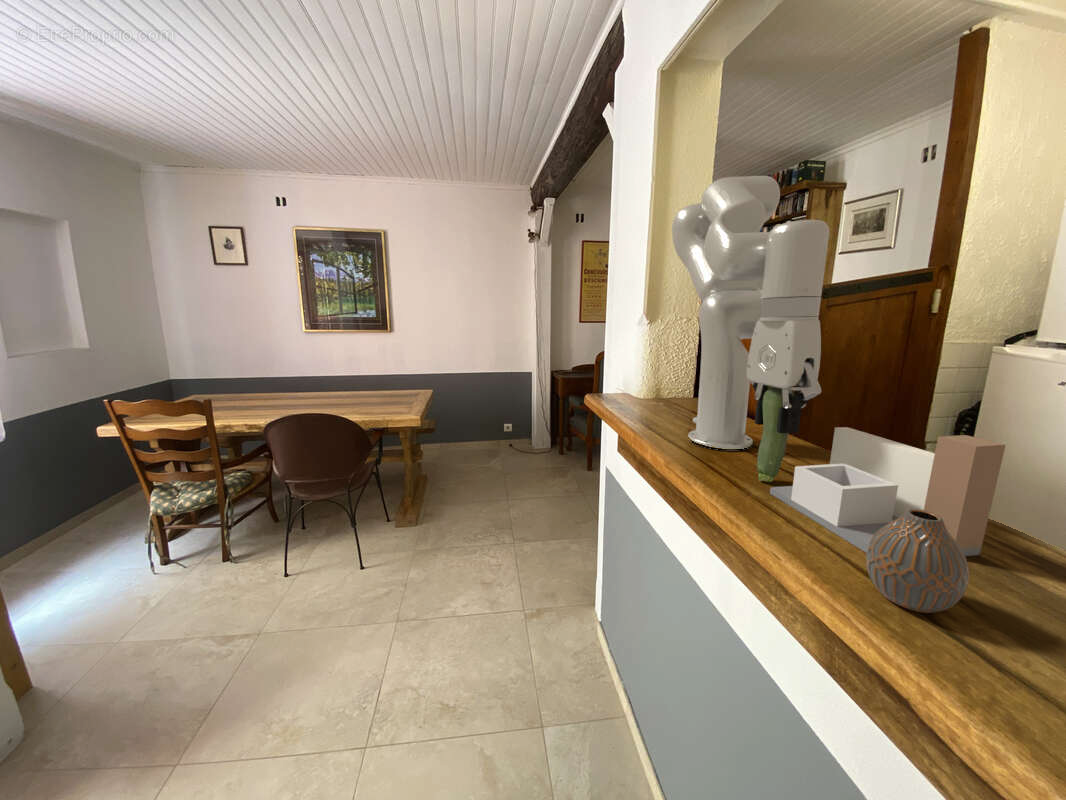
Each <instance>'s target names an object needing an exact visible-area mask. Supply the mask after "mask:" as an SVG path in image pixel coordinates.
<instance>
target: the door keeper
mask: <svg viewBox="0 0 1066 800" xmlns="http://www.w3.org/2000/svg"><path fill="white" fill-rule="evenodd" d="M1006 446H1007V445H1006V444H1004V443H1001V442H1000V443H999V442H996V441H991V440H988V439H983V438H980V437H975V436H971V435H966V434H961V435H945V436H937V441H936V445H935V450H934V452H931V451H928V450H925V449H921V448H919V447H918V448H917V447H914V446H912V445H908V444H905V443H901V442H897V441H894V440H891V439H889V438H888V439H887V438H884V437H881V436H878V435H874V434H870V433H868V432H865V431H860V430H858V429H855V428H852V427H847V426H845V427H843V426H841V427H834V432H833V439H832V448H831V454H830V461H829V464H828V463H827V464H814V465H798V466H795V467H794V472H793V473H794V474H793V483H792V485H786V486H771V487H770V488H769V489H770V490H769V494H770V495H771V496H773V497H775V498H776V499H778V500H780V501H781V502H783V503H784V504H787V505H788V506H789V507H791V508H793V509H794V510H796V511H798V512H799V513H801V514H802V515H804V516H806V517H808V518H809V519H811V520H812V521H813V522H816V523H817V524H819V525H821V526H822V527H824V528H826V529H827V530H828V531H831V532H832V533H834V534H835V535H837V536H838V537H840V538H842V539H843V540H845V541H846V542H849V544H851V545H853V546H854V547H856V548H858V549H859V550H861V551H862V552H865V554H867V549H868V545H869V543H870V541H871V539H872V537H873V536H874V534H875V533H876V532H877V531H878V530H879V529H880V528H882V527H883V526H885V525H887V524H888V523H890V522H892V521H894V520H896V519H898V518H900V517H901V516H902V515H903V514H904V513H905V512H906V511H907V510H909V509H919V510H924V511H928V512H931V513H934V514H936V515H938V516H940V517H941V518H942V519H943V522H944V524H945V527H946V529H947V531H948V532H949V533H950V535H951V536H952V537H953V538H954V540H955V541H956V542H957V544H958V545H959V546H960V548H961V549H962V551H963V553H964V555H965V557H972V556H980V555H981V551H982V546H983V543H984V538H985V534H986V529H987V526H988V521H989V517H990V514H991V513H990V512H991V509H992V503H993V500H994V497H995V492H996V487H997V484H998V483H997V482H998V479H999V474H1000V470H1001V466H1002V462H1003V458H1004V457H1003V456H1004V453H1005V449H1006Z"/></svg>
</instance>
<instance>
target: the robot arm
mask: <svg viewBox="0 0 1066 800" xmlns="http://www.w3.org/2000/svg"><path fill="white" fill-rule="evenodd" d="M780 198H781V190H780V185H779V183H778V182H777V180H776V179H775V178H774V177H772V176H768V175H751V176H750V175H749V176H747V175H746V176H728V177H727V176H726V177H722V178H718V179H717V180H715V181H713V182H712V183H710V184H709V185H708V186H707V187H706V188H705V190H704V191H703V194H702V196H701V202H698V203H693V204H690V205H685V206H684V207H682V208H681V209H680V210H678V212H676V214H675V216H674V218H673V222H672V228H671V234H672V243H673V247H674V251H675V253H676V254H677V256H678V258H679V260H680V261H681V262H682V263H683V265H684V266H685V268H686V269H687V271H688V273H689V276H690V278H691V281H692V283H693V286H694V289H695V291H696V294H697V296H698V298H699V299H700V301H701V304H700V306H699V328H700V337H701V338H700V339H701V340H700V341H701V349H700V350H701V352H700V354H701V355H700V357H701V358H700V371H699V373H700V374H699V389H698V401H697V415H696V417H693V418H692V422H693V424H696V425H695V430H694V429H693V430H691V431H690V432H688V435H687V436H688V437H689V438H690V439H691V440H692V441H694V442H696V443H699V444H702V445H705V446H709V447H715V448H722V449H743V450H745V449H744V448H747V449H749V448H748V447H750V446H751V445H752V446H753V442H754V441H753V439H752V437H750V436H748V435H747V434H746V428H747V418H748V417H747V415H748V406H749V394H750V385H752V388H753V390H754V399H755V400H756V407H755V416H754V419H755V420H754V423H755V424H756V425H758V426H760V425H763V407H762V403H763V397H764V394H765V392H766V391H767V389H768V388H770V387H771V386H772V387H776V388H782V395H783V407H780V408H779V415H778V424H777V432H778V433H781V434H782V433H789V434H797V433H798V432H799V431H800V422H801V415H802V409H804V408H805V407H806V405H807V403H809V402H810V401H811V399H813V398H815V397H817V396H818V395H820V394H821V393H822V388H821V385H820V383H819V380H818V378H819V371H820V364H821V355H822V334H821V322H820V320H819V315H820V308H821V300H822V293H823V285H824V277H825V271H826V270H825V268H826V261H827V254H828V245H829V238H830V227H829V225H828V224H827V222H825V221H823V220H820V219H819V220H818V219H802V220H795V221H789V222H783V223H782V224H777V225H776V226H774V227H773V228H772V229H771V230H770V231H762V232H760V231H761V229H762V228H763V226H764V223H766V222H767V221H768V220H769V219H770V218H772V216H773V215H774V213H775V212H776V211H777V207H778V206H779V203H780ZM746 339H748V340H749V339H751V342H750V347H749V350H747V349H746V347H745V346H744V344H743V342H742V341H741V340H746ZM748 351H749V352H748ZM791 391H793V392H795V393H794V396H793V397H792V393H791ZM688 437H687V438H688ZM752 446H751V447H752ZM751 447H750V448H751Z"/></svg>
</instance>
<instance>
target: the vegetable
mask: <svg viewBox="0 0 1066 800" xmlns="http://www.w3.org/2000/svg"><path fill="white" fill-rule="evenodd" d="M791 393H792V397H793V396H794V395H795V393H794V391H791ZM762 407H763V427H762V428H763V429H762V434H761V435H762V436H761V440H760V443H759V446H758V452H757V460H756V469H757V472H758V476H757V478H758V481H759V482H762V481H763V482H766V483H772V482H773V481H774V479H775V477H776V476H777V475H778V474H779V471H780V468H781V466H782V462H783V460H784V455H785V452H786V446H787V442H788V437H789V434H790V433H782V434H781V433H778V432H777V424H778V415H779V408H780V407H783V395H782V388H776V387H772V386H771V387H770V388H769V387H768V389H767V391H766V392H765V394H764V397H763V403H762Z"/></svg>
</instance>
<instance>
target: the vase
mask: <svg viewBox="0 0 1066 800" xmlns="http://www.w3.org/2000/svg"><path fill="white" fill-rule="evenodd" d="M865 556H866V557H865V560H866V561H865V563H866V569H867V572H868V576H869V578H870V580H871V582H872V584H873V585H874V586H875V588H876V589H877V590H878V592H880V593H881V594H882V595H883V596H884V598H886V599H887V600H889V601H890V602H892V603H894V604H896V605H897V606H900V607H901V608H904V609H906V610H910V611H913V612H916V613H917V612H918V613H923V614H931V613H932V614H933V613H939V612H943V611H946V610H948V609H950V608H951V609H952V607H953V606H955V605H956V604H958V603H959V601H960V600H961V599H962V598H963V596H964V595H965V593H966V590H967V587H968V584H969V577H970V575H969V574H970V572H969V564H968V561H967V556H965V555H964V553H963V551H962V549H961V548H960V546H959V545H958V544H957V542H956V541H955V540H954V538H953V537H952V536H951V535H950V533H949V532H948V531H947V529H946V527H945V524H944V522H943V519H942V518H941V517H940V516H938V515H936V514H934V513H931V512H928V511H924V510H919V509H909V510H907V511H906V512H905V513H904V514H903V515H902V516H901V517H900V518H898V519H896V520H894V521H892V522H890V523H888V524H887V525H885V526H883V527H882V528H880V529H879V530H878V531H877V532H876V533H875V534H874V536H873V537H872V539H871V541H870V543H869V545H868V549H867V553H866V554H865Z"/></svg>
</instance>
